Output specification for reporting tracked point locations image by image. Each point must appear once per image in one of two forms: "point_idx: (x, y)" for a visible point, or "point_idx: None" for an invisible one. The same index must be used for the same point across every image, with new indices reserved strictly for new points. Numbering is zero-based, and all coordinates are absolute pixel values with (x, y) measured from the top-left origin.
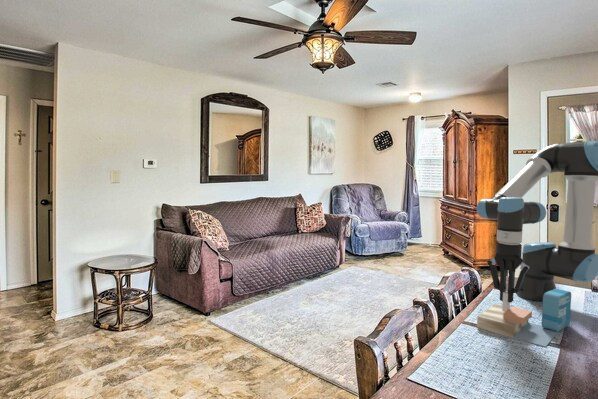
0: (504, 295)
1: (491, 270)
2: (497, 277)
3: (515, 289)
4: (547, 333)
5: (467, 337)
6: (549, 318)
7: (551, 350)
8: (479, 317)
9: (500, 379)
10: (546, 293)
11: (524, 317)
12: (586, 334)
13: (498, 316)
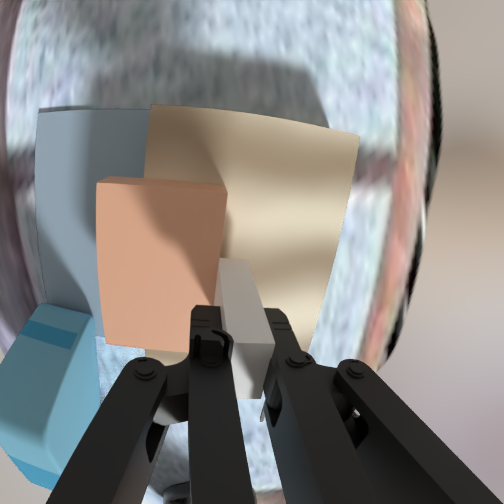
0: (254, 324)
1: (480, 489)
2: (377, 471)
3: (146, 385)
4: (62, 268)
5: (336, 4)
6: (49, 332)
7: (24, 103)
8: (347, 133)
9: None
10: (37, 443)
11: (96, 201)
12: (7, 343)
13: (257, 209)
